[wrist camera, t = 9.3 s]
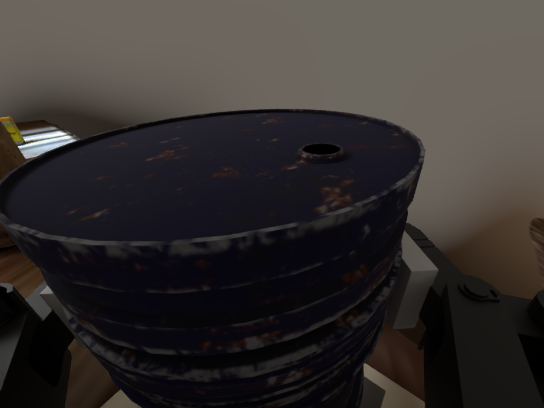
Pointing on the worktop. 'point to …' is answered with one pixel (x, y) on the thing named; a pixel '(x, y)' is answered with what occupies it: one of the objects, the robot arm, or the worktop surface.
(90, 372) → the worktop surface
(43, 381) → the robot arm
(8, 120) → the supplement box
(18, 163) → the block
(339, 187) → the dark blue can
